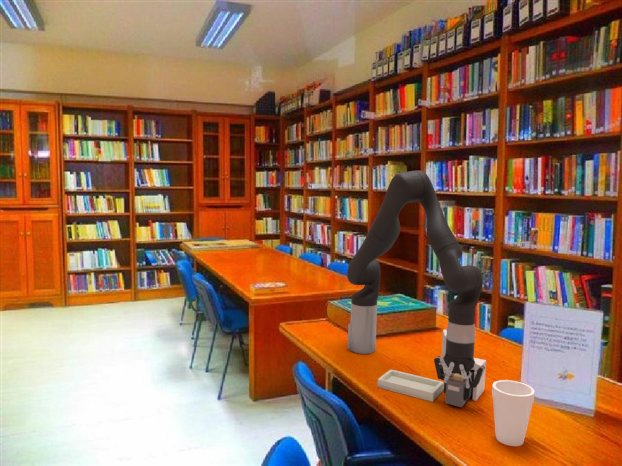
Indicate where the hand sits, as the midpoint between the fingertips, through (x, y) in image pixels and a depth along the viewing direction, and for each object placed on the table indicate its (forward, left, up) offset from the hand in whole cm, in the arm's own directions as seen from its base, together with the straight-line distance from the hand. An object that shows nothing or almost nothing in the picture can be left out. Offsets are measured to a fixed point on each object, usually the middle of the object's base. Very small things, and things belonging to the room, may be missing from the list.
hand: (456, 396), depth 143 cm
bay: (0, +10, -2) cm, 10 cm away
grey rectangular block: (0, +4, -1) cm, 4 cm away
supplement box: (-8, +24, -2) cm, 26 cm away
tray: (-14, +2, -2) cm, 15 cm away
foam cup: (+17, -12, -2) cm, 21 cm away
